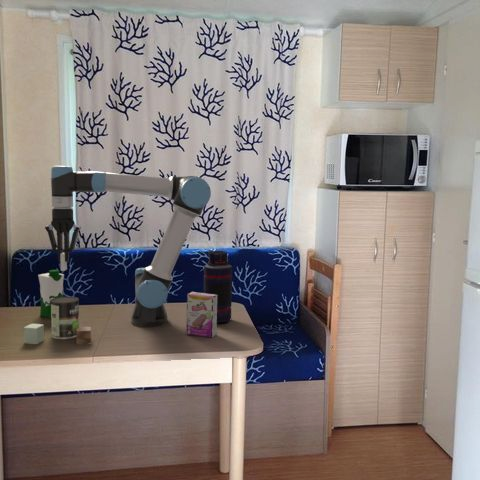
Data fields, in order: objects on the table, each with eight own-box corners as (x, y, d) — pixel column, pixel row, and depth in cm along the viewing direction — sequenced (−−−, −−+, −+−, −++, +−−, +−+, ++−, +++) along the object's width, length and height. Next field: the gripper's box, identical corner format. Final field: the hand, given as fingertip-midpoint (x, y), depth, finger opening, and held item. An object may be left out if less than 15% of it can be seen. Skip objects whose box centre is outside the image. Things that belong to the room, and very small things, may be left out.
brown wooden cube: (90, 339, 205) (90, 326, 204) (90, 343, 200) (90, 330, 200) (77, 340, 204) (76, 327, 203) (76, 344, 199) (76, 331, 198)
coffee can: (84, 332, 213) (83, 297, 211) (71, 340, 203) (70, 303, 201) (60, 330, 215) (59, 295, 213) (46, 338, 205) (45, 301, 203)
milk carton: (49, 319, 228) (48, 272, 226) (36, 315, 234) (35, 269, 231) (67, 315, 236) (66, 269, 233) (54, 311, 241) (53, 266, 238)
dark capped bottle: (235, 323, 230) (237, 253, 225) (209, 326, 224) (211, 254, 220) (222, 314, 242) (223, 248, 237) (197, 317, 237) (198, 249, 232)
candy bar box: (185, 334, 213) (186, 294, 210) (191, 331, 217) (191, 291, 215) (212, 338, 209) (213, 297, 207) (217, 334, 214) (217, 294, 211)
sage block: (44, 340, 203) (43, 324, 202) (37, 344, 198) (36, 328, 197) (31, 339, 204) (31, 323, 203) (24, 343, 199) (23, 327, 198)
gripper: (41, 208, 198) (43, 271, 202) (77, 209, 198) (78, 272, 202) (48, 206, 206) (50, 267, 209) (83, 207, 206) (83, 268, 209)
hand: (63, 269), depth 205 cm, fingers closed
